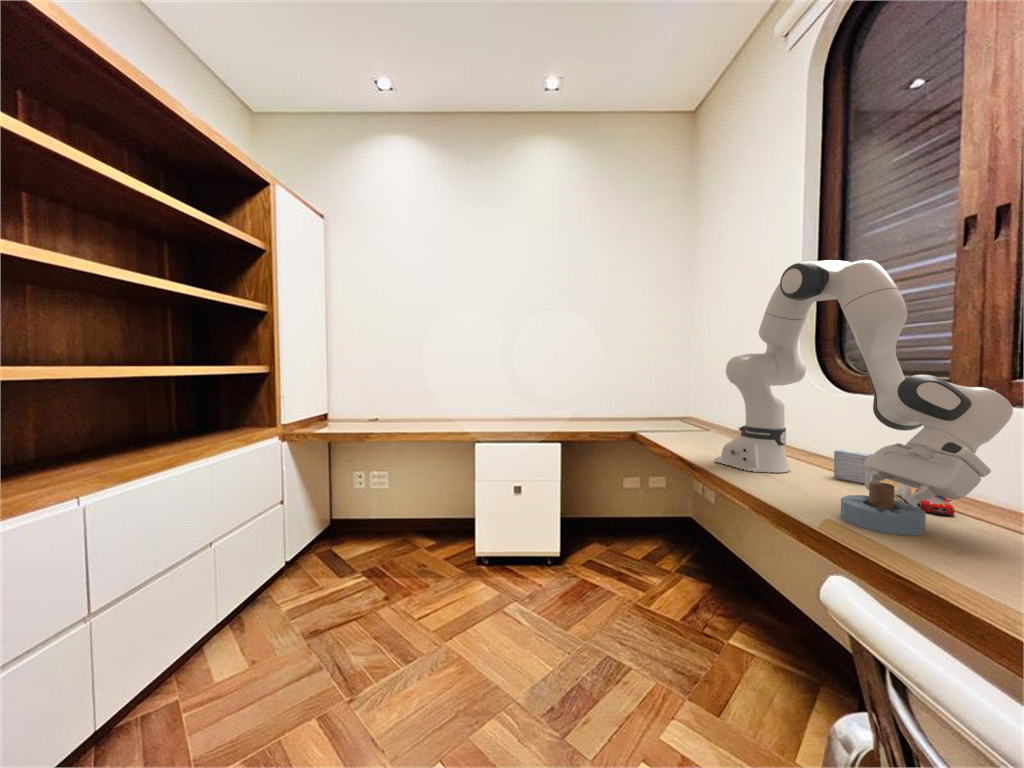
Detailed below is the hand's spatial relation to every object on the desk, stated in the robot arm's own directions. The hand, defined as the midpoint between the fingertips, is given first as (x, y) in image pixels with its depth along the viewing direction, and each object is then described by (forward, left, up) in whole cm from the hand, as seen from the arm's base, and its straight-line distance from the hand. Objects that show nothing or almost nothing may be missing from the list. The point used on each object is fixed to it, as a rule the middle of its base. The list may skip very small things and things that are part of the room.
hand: (887, 495), depth 85 cm
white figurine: (-4, +27, -6) cm, 28 cm away
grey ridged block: (-17, +34, -6) cm, 38 cm away
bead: (-1, -1, -6) cm, 6 cm away
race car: (+3, +21, -7) cm, 22 cm away
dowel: (-1, -1, -6) cm, 6 cm away
